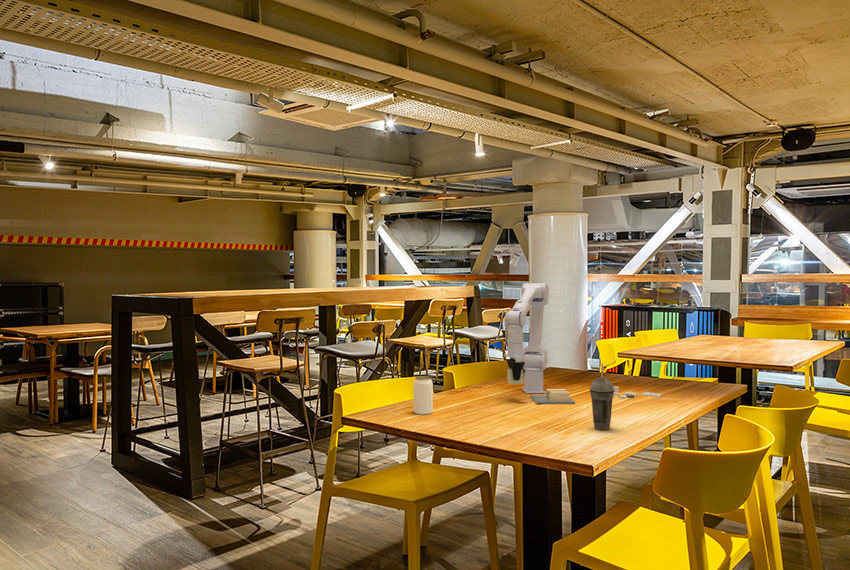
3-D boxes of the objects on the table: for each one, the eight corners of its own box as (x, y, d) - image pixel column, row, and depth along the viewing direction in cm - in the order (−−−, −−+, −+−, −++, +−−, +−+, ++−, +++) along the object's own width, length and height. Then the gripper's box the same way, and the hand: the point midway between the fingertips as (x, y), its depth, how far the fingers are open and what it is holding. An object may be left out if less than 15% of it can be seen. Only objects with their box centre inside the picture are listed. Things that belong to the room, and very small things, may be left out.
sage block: (507, 381, 238) (507, 368, 238) (520, 381, 238) (520, 368, 238) (509, 384, 233) (509, 370, 233) (523, 383, 233) (523, 370, 233)
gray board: (530, 397, 242) (530, 395, 242) (566, 397, 243) (566, 395, 243) (537, 404, 229) (537, 401, 229) (575, 403, 230) (575, 401, 230)
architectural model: (645, 405, 230) (645, 399, 230) (584, 397, 244) (584, 392, 244) (662, 396, 246) (662, 391, 246) (604, 390, 260) (604, 385, 260)
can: (415, 415, 211) (415, 379, 210) (412, 411, 217) (412, 376, 217) (434, 414, 212) (434, 379, 211) (430, 410, 218) (430, 376, 218)
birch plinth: (546, 397, 239) (546, 389, 239) (564, 396, 239) (564, 389, 239) (550, 400, 232) (550, 392, 232) (569, 400, 232) (569, 392, 232)
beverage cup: (613, 426, 195) (613, 361, 194) (615, 432, 187) (615, 365, 187) (589, 425, 196) (589, 361, 196) (589, 430, 189) (590, 364, 189)
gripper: (501, 340, 242) (501, 376, 242) (507, 344, 228) (507, 382, 228) (519, 340, 242) (519, 375, 243) (527, 344, 228) (527, 382, 228)
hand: (515, 379), depth 235 cm, fingers closed on sage block, 5 cm apart
